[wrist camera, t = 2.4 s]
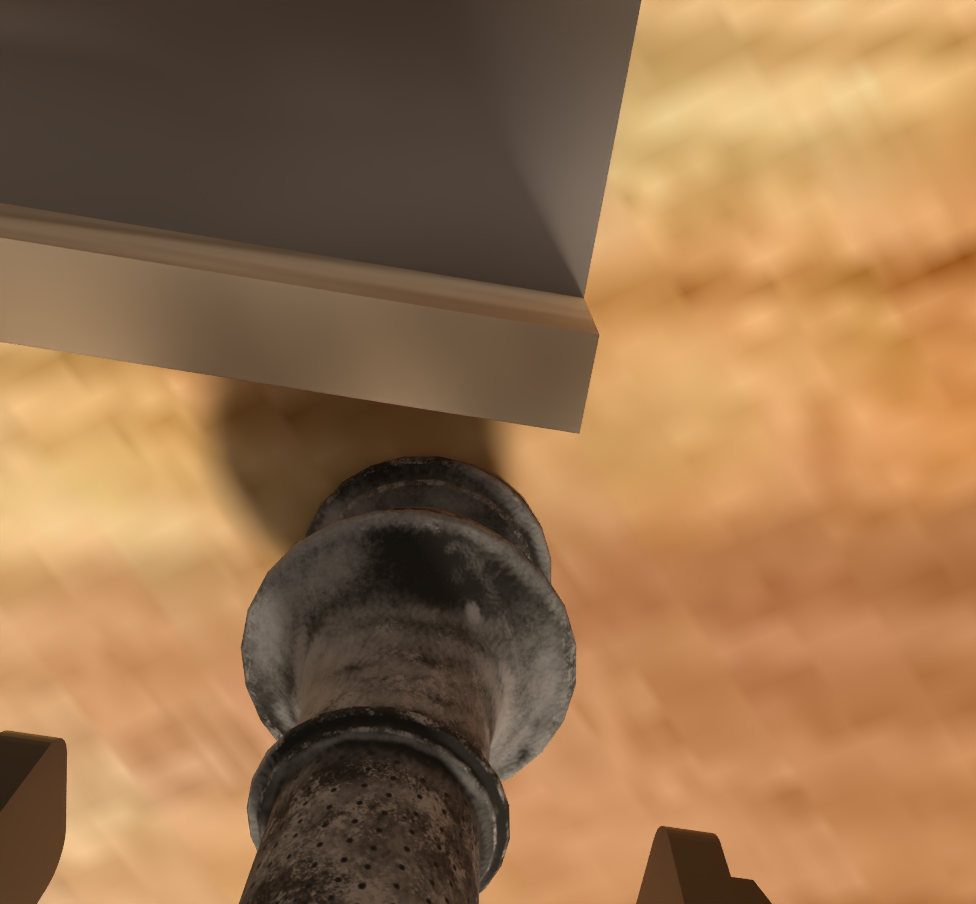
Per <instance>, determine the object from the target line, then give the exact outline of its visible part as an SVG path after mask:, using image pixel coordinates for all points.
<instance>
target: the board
mask: <svg viewBox="0 0 976 904" xmlns="http://www.w3.org/2000/svg"><path fill="white" fill-rule="evenodd" d="M640 4H641V0H0V342H4V343H11V344H17V345H23V346H29V347H36V348H42V349H48V350H55V351H61V352H67V353H74V354H80V355H86V356H93V357H99V358H105V359H112V360H118V361H124V362H130V363H137V364H143V365H149V366H156V367H162V368H168V369H175V370H181V371H187V372H194V373H200V374H206V375H212V376H219V377H225V378H231V379H238V380H244V381H250V382H257V383H263V384H269V385H276V386H282V387H288V388H294V389H301V390H307V391H313V392H320V393H326V394H332V395H339V396H345V397H351V398H358V399H364V400H370V401H376V402H383V403H389V404H395V405H402V406H408V407H414V408H421V409H427V410H433V411H440V412H446V413H452V414H458V415H465V416H471V417H477V418H484V419H490V420H496V421H503V422H509V423H515V424H522V425H528V426H534V427H540V428H547V429H553V430H559V431H566V432H572V433H578V434H579V433H580V428H581V423H582V418H583V413H584V408H585V403H586V398H587V393H588V388H589V383H590V378H591V373H592V368H593V363H594V358H595V353H596V348H597V343H598V338H599V333H598V330H597V328H596V326H595V323H594V321H593V319H592V316H591V314H590V312H589V309H588V307H587V305H586V302H585V300H584V294H585V289H586V284H587V278H588V273H589V268H590V263H591V258H592V253H593V247H594V242H595V237H596V232H597V227H598V221H599V216H600V211H601V206H602V201H603V196H604V190H605V185H606V180H607V175H608V170H609V165H610V159H611V154H612V149H613V144H614V139H615V134H616V128H617V123H618V118H619V113H620V108H621V103H622V97H623V92H624V87H625V82H626V77H627V72H628V66H629V61H630V56H631V51H632V46H633V41H634V35H635V30H636V25H637V20H638V15H639V9H640Z"/></svg>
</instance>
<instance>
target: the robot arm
mask: <svg viewBox="0 0 976 904" xmlns="http://www.w3.org/2000/svg"><path fill="white" fill-rule="evenodd" d="M66 782H67V748H66V743H65V741H64V740H63V739H61V738H56V737H49V736H42V735H35V734H28V733H21V732H14V731H3V732H1V733H0V904H37V903H38V901H39V899H40V898H41V896H42V894H43V893H44V891H45V890H46V888H47V886H48V885H49V883H50V881H51V879H52V877H53V875H54V873H55V870H56V868H57V865H58V863H59V860H60V857H61V853H62V849H63V845H64V840H65V833H66ZM636 904H772V903H771V902H770V901H769V899H768V898H767V897H766V896H765V894H764V893H763V892H762V891H761V889H760V888H759V887H758V886H757V884H756V883H755V882H754V881H753V880H749V879H742V878H735V877H731V876H730V872H729V869H728V866H727V863H726V859H725V856H724V853H723V850H722V847H721V843H720V841H719V839H718V837H717V836H716V835H715V834H713V833H707V832H700V831H693V830H686V829H679V828H672V827H665V826H660V827H659V828H658V830H657V832H656V834H655V837H654V840H653V844H652V848H651V851H650V855H649V859H648V862H647V866H646V870H645V873H644V877H643V881H642V884H641V888H640V892H639V895H638V899H637V903H636Z"/></svg>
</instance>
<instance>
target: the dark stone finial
mask: <svg viewBox="0 0 976 904" xmlns="http://www.w3.org/2000/svg"><path fill="white" fill-rule="evenodd" d="M241 651H242V660H243V668H244V676H245V684H246V687H247V690H248V692H249V694H250V697H251V699H252V701H253V703H254V706H255V708H256V710H257V713H258V715H259V717H260V720H261V721H262V723H263V724H264V725H265V726H266V728H267V729H268V730H269V731H270V733H271V734H272V735H273V736H274V738H275V739H276V740H277V742H276V743H275V744H274V745H273V746H272V747H271V748H270V749H269V750H268V751H267V752H266V754H265V756H264V758H263V760H262V761H261V763H260V765H259V767H258V769H257V770H256V772H255V774H254V776H253V778H252V782H251V787H250V793H249V798H248V804H247V814H248V821H249V828H250V835H251V838H252V840H253V842H254V845H255V847H256V849H257V854H256V857H255V859H254V862H253V865H252V868H251V871H250V874H249V876H248V879H247V882H246V885H245V888H244V891H243V893H242V896H241V899H240V902H239V904H479V893H480V892H482V891H483V890H484V889H485V888H486V887H487V885H488V884H489V883H490V881H491V880H492V878H493V877H494V875H495V874H496V873H497V871H498V870H499V868H500V867H501V865H502V862H503V859H504V856H505V852H506V849H507V846H508V842H509V839H510V826H509V804H508V801H507V798H506V795H505V793H504V790H503V787H502V784H501V782H502V781H504V780H506V779H508V778H511V777H513V776H514V775H515V774H516V773H517V772H519V771H520V770H521V769H522V768H523V767H525V766H526V765H527V764H528V763H529V762H531V761H532V760H533V759H534V758H535V757H537V756H538V755H539V754H540V753H541V752H542V751H543V750H544V749H545V747H546V746H547V744H548V743H549V741H550V740H551V738H552V737H553V736H554V734H555V733H556V731H557V730H558V728H559V727H560V725H561V724H562V723H563V721H564V719H565V716H566V713H567V710H568V706H569V703H570V700H571V697H572V694H573V691H574V688H575V685H576V643H575V639H574V636H573V632H572V629H571V625H570V622H569V618H568V615H567V612H566V608H565V605H564V604H563V602H562V601H561V599H560V597H559V596H558V594H557V593H556V591H555V590H554V588H553V587H552V585H551V557H550V554H549V550H548V547H547V543H546V540H545V536H544V533H543V530H542V528H541V526H540V525H539V523H538V521H537V520H536V518H535V517H534V515H533V514H532V512H531V510H530V509H529V507H528V506H527V504H526V502H524V501H523V500H522V499H521V498H520V497H519V496H518V495H517V494H516V493H515V492H513V491H512V490H511V489H510V488H509V487H508V486H507V485H506V484H505V483H504V482H503V481H501V480H500V479H498V478H496V477H494V476H492V475H490V474H488V473H486V472H484V471H482V470H481V469H479V468H477V467H475V466H473V465H471V464H466V463H462V462H458V461H454V460H450V459H446V458H442V457H403V458H399V459H395V460H391V461H387V462H384V463H380V464H376V465H372V466H370V467H369V468H367V469H365V470H363V471H362V472H360V473H358V474H356V475H355V476H353V477H351V478H349V479H348V480H346V481H344V482H343V483H342V484H341V485H340V486H339V487H338V488H337V489H336V490H335V491H334V492H333V493H332V494H331V495H330V496H329V497H328V498H327V499H326V500H325V501H324V502H323V503H322V505H321V507H320V509H319V510H318V512H317V514H316V516H315V518H314V520H313V522H312V523H311V525H310V527H309V529H308V531H307V533H306V538H304V539H303V540H301V541H299V542H297V543H296V544H295V545H294V546H293V547H292V548H291V549H290V550H289V551H288V552H287V553H286V554H285V555H284V556H283V557H282V558H281V559H280V560H279V561H278V562H277V563H276V564H275V565H274V566H273V567H272V568H271V569H270V570H269V571H268V573H267V574H266V576H265V578H264V580H263V582H262V584H261V586H260V588H259V590H258V591H257V593H256V595H255V597H254V599H253V601H252V603H251V605H250V607H249V609H248V612H247V617H246V623H245V628H244V634H243V639H242V645H241Z"/></svg>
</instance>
